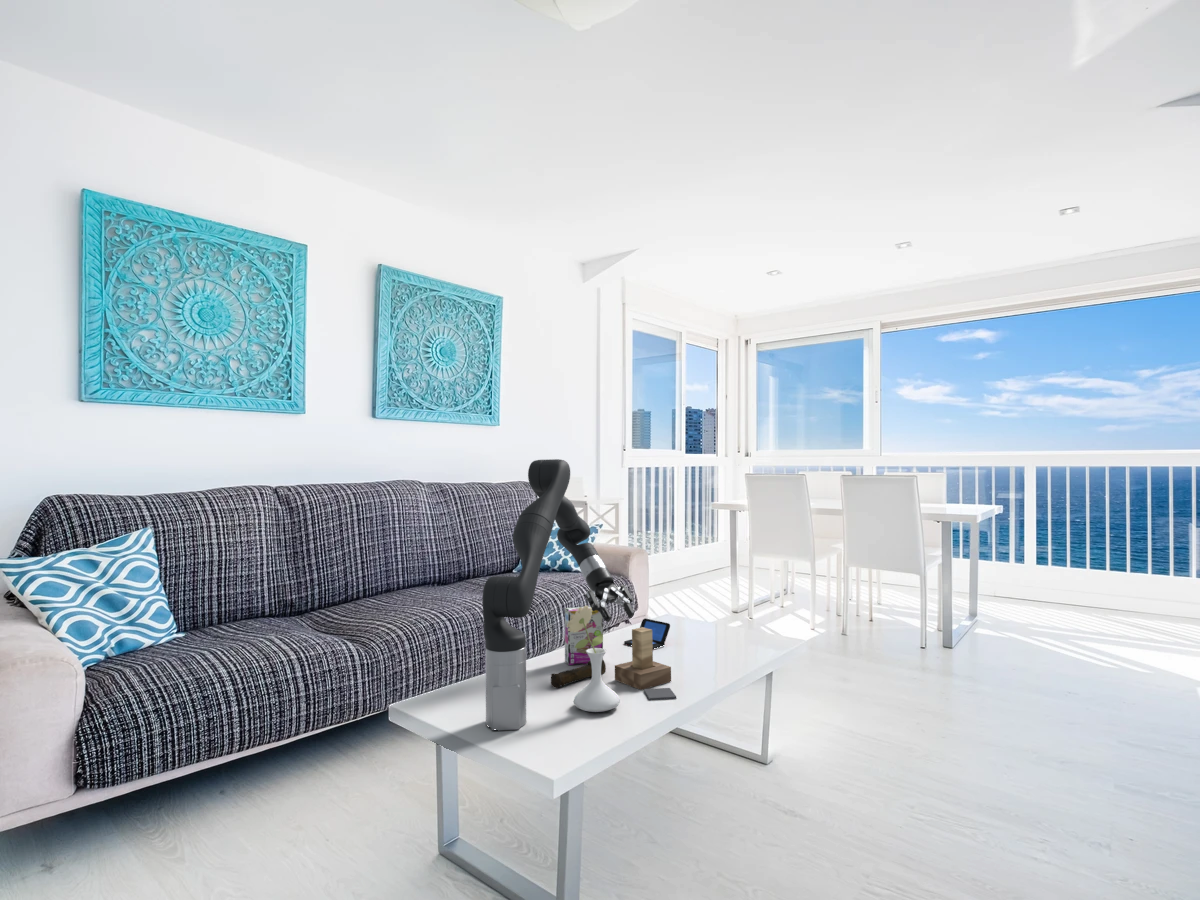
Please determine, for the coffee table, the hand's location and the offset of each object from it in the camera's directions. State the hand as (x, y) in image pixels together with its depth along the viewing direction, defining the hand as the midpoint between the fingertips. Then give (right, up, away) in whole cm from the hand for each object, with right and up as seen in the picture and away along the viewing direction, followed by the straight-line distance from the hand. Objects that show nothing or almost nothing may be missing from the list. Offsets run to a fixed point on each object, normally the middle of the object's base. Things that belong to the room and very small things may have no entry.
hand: (620, 618), depth 183 cm
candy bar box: (-11, -17, +11) cm, 23 cm away
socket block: (+6, -15, -8) cm, 18 cm away
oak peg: (+6, -15, -8) cm, 18 cm away
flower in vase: (-8, -14, -29) cm, 33 cm away
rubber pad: (+9, -15, -20) cm, 26 cm away
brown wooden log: (-12, -16, -6) cm, 21 cm away
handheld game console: (+10, -18, +31) cm, 37 cm away
